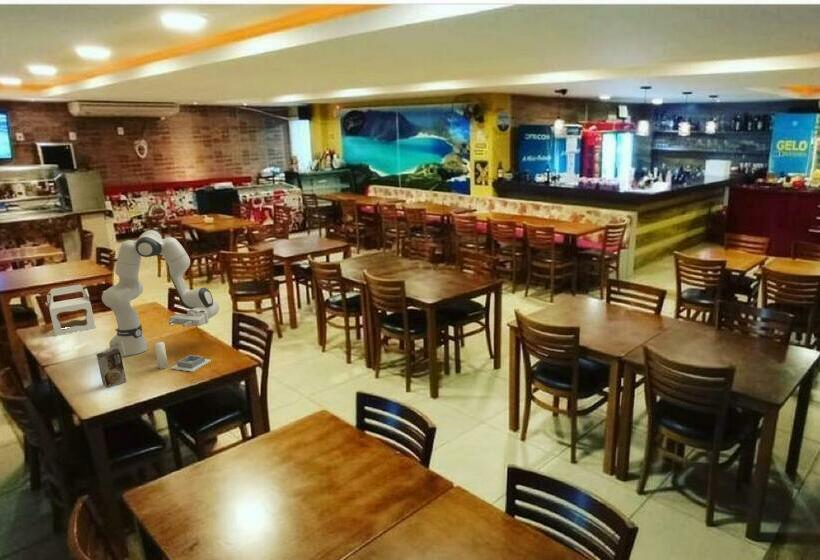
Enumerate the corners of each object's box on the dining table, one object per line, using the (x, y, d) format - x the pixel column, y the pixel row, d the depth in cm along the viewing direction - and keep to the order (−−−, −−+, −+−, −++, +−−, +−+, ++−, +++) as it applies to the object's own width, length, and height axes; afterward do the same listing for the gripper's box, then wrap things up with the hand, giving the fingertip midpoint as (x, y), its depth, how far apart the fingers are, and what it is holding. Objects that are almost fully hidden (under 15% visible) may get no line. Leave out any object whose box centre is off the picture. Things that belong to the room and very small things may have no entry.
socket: (171, 369, 283) (169, 363, 282) (190, 358, 295) (189, 352, 294) (192, 372, 278) (191, 366, 277) (211, 361, 290) (211, 355, 289)
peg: (156, 368, 284) (152, 344, 281) (163, 364, 289) (159, 341, 285) (163, 369, 283) (159, 345, 279) (170, 365, 287) (166, 342, 283)
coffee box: (122, 378, 275) (116, 347, 270) (126, 382, 270) (120, 351, 266) (102, 384, 268) (95, 353, 264) (106, 388, 264) (100, 357, 260)
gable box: (94, 322, 360) (85, 281, 352) (96, 328, 349) (87, 285, 342) (54, 330, 348) (44, 287, 341) (54, 336, 338) (44, 292, 330)
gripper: (179, 309, 308) (160, 317, 295) (209, 311, 300) (190, 320, 288) (181, 320, 309) (162, 329, 297) (210, 322, 302) (192, 331, 289)
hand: (176, 324), depth 292 cm, fingers open, 8 cm apart
